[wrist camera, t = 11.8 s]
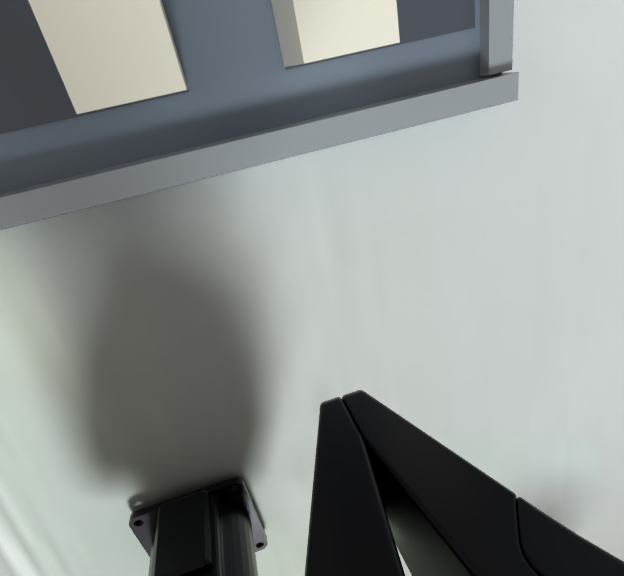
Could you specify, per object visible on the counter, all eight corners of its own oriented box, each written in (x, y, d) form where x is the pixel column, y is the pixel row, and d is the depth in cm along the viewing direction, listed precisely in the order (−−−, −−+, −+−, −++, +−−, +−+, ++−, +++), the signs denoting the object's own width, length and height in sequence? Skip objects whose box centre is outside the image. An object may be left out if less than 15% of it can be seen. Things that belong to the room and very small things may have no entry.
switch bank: (484, 100, 19) (519, 102, 17) (-346, 307, 15) (-433, 343, 13) (484, -222, 14) (533, -274, 12) (-736, -49, 10) (-973, -83, 8)
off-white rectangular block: (188, 88, 15) (186, 89, 12) (99, 108, 14) (77, 114, 11) (144, -56, 13) (130, -94, 10) (41, -38, 12) (-3, -72, 10)
